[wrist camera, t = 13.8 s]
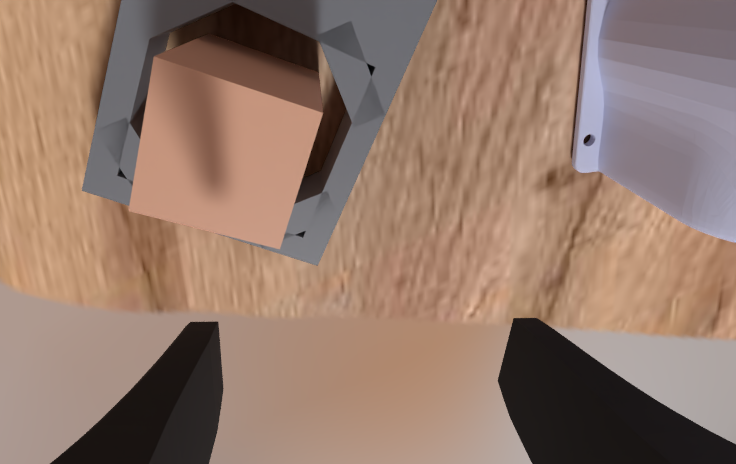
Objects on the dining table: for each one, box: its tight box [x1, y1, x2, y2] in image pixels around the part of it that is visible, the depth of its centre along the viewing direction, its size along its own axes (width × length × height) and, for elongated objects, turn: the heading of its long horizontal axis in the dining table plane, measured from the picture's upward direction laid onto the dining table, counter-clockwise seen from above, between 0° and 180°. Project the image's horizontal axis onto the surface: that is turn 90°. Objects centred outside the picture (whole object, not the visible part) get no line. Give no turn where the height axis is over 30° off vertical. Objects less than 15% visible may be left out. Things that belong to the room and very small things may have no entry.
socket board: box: [82, 0, 437, 266], centre depth 16 cm, size 16×9×2 cm, turn 156°
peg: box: [129, 34, 323, 249], centre depth 16 cm, size 4×4×7 cm
